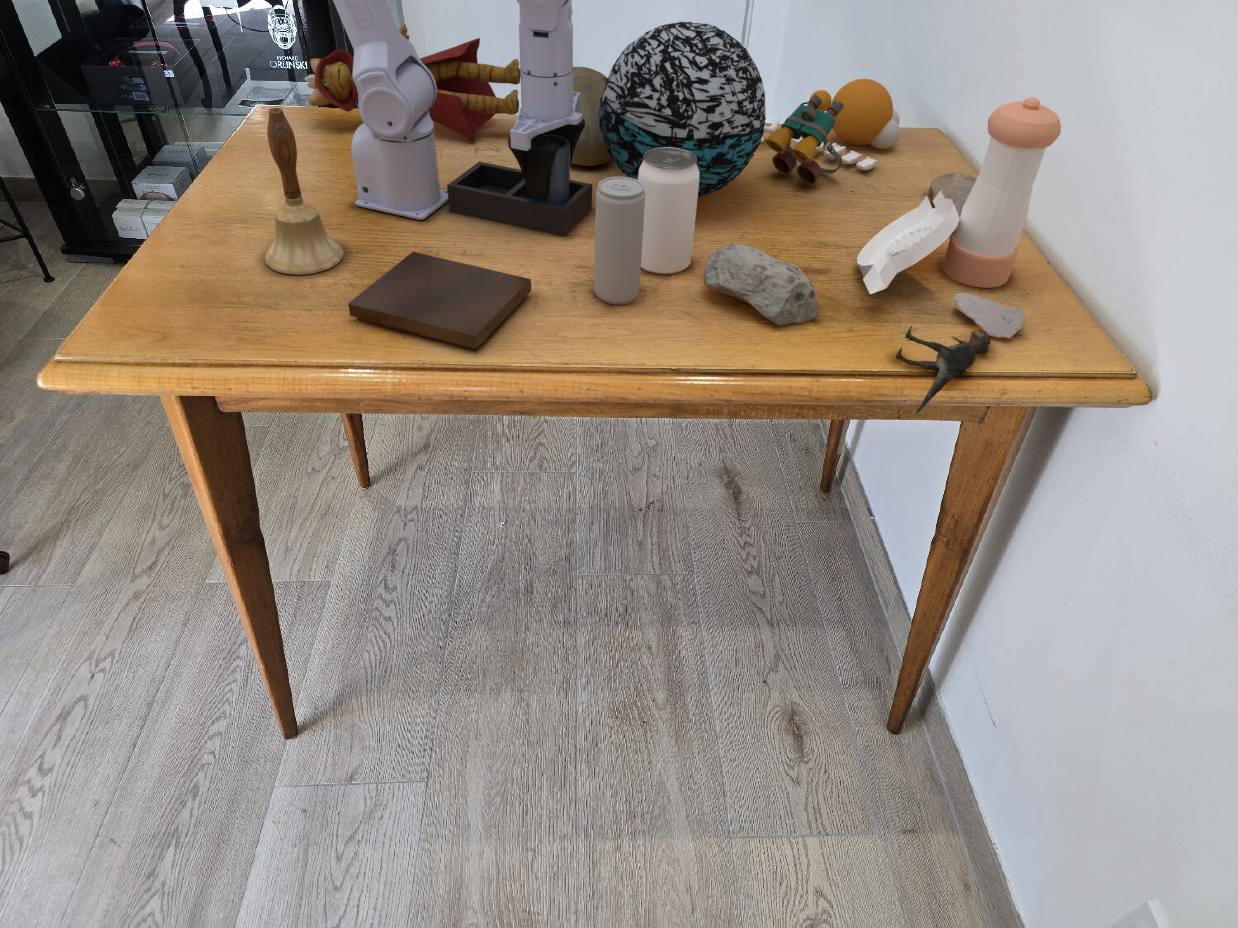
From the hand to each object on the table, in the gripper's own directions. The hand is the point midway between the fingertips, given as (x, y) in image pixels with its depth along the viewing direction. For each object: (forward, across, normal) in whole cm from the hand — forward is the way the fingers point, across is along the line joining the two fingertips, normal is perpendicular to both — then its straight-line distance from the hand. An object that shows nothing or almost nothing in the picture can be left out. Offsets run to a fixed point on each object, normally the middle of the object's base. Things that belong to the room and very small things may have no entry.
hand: (548, 189), depth 105 cm
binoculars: (+3, +25, -25) cm, 36 cm away
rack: (+3, 0, +4) cm, 5 cm away
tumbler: (+1, 0, 0) cm, 1 cm away
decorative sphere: (+3, +13, -12) cm, 18 cm away
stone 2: (+4, -3, -51) cm, 51 cm away
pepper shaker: (+3, +8, -50) cm, 50 cm away
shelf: (+3, -24, +1) cm, 24 cm away
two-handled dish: (0, +5, -42) cm, 42 cm away
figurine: (-1, +24, +15) cm, 28 cm away
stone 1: (+4, +24, -48) cm, 54 cm away
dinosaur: (+2, -15, -43) cm, 46 cm away
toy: (+1, +39, -22) cm, 44 cm away
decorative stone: (+4, -8, -28) cm, 30 cm away
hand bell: (+4, -21, +20) cm, 29 cm away
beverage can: (+4, -14, -14) cm, 20 cm away
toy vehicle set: (+1, +34, -28) cm, 44 cm away
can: (+4, -5, -16) cm, 17 cm away
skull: (+4, +23, +7) cm, 24 cm away
